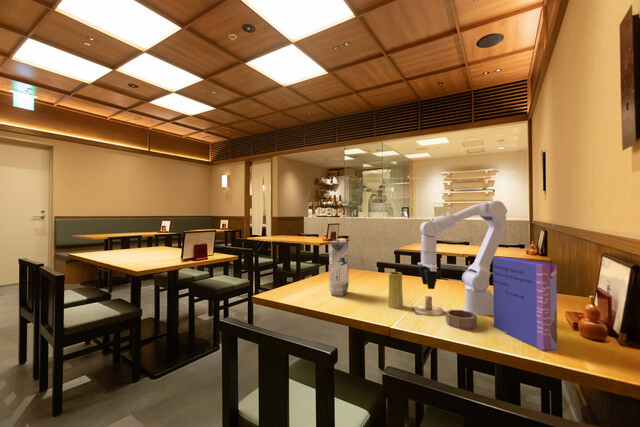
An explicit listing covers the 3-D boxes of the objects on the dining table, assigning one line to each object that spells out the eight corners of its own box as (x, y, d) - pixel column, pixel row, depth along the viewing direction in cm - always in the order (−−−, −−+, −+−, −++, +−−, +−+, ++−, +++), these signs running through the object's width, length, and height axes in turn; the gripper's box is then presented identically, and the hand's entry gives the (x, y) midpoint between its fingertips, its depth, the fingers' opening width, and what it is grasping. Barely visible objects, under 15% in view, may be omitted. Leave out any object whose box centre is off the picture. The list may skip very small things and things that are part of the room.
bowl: (469, 321, 104) (469, 310, 104) (480, 331, 95) (480, 318, 95) (443, 320, 105) (443, 309, 105) (451, 330, 96) (451, 318, 96)
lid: (438, 307, 120) (438, 293, 120) (447, 316, 109) (447, 301, 109) (411, 306, 121) (411, 292, 121) (417, 315, 110) (417, 300, 110)
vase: (403, 310, 117) (403, 274, 118) (388, 309, 119) (387, 274, 119) (402, 305, 123) (402, 271, 124) (387, 304, 125) (387, 271, 125)
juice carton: (328, 296, 139) (328, 239, 139) (331, 290, 149) (331, 237, 150) (347, 296, 137) (347, 239, 138) (349, 291, 148) (348, 238, 148)
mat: (440, 308, 119) (440, 307, 119) (448, 316, 109) (448, 315, 109) (410, 307, 120) (410, 306, 120) (416, 315, 110) (416, 314, 110)
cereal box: (557, 349, 82) (556, 264, 82) (543, 351, 81) (542, 264, 81) (505, 327, 99) (504, 256, 99) (493, 328, 98) (492, 256, 98)
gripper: (414, 249, 123) (413, 282, 123) (422, 254, 108) (422, 290, 108) (431, 250, 122) (431, 282, 122) (442, 254, 108) (442, 291, 107)
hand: (428, 286), depth 115 cm, fingers open, 7 cm apart
